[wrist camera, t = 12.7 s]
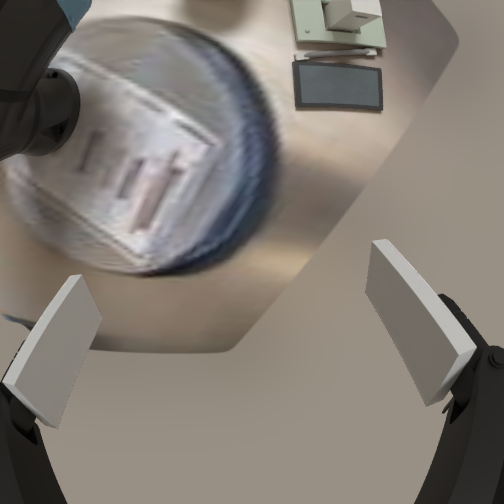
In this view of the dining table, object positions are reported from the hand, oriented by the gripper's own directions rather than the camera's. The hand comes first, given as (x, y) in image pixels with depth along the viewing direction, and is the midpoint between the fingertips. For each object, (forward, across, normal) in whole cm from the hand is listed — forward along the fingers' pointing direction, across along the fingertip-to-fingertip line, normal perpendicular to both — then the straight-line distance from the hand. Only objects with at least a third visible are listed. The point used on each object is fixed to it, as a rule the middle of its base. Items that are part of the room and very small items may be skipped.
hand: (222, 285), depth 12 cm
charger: (+32, +18, +21) cm, 42 cm away
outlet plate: (+32, +18, +24) cm, 44 cm away
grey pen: (+32, +17, +15) cm, 39 cm away
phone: (+32, +17, +10) cm, 38 cm away
